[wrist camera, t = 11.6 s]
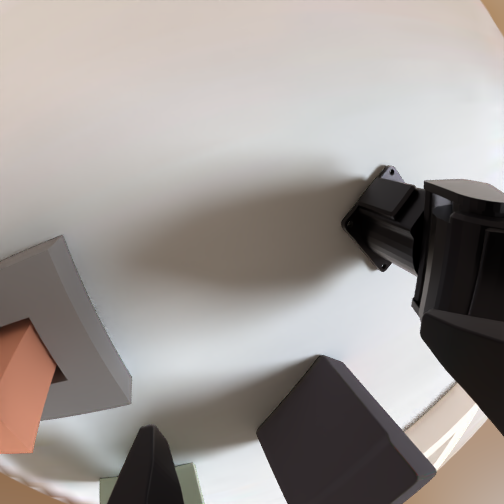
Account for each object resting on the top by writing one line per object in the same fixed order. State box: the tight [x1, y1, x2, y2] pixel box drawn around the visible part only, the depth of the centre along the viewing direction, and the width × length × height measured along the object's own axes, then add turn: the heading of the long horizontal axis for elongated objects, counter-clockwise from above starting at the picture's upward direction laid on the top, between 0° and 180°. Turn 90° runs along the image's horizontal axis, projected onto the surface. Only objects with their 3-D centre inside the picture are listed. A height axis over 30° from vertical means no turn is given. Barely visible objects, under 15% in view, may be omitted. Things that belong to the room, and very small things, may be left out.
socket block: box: [0, 235, 132, 421], centre depth 16 cm, size 12×12×3 cm
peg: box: [0, 318, 57, 454], centre depth 13 cm, size 4×4×10 cm
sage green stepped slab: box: [100, 463, 205, 504], centre depth 19 cm, size 12×10×10 cm
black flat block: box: [256, 355, 437, 504], centre depth 20 cm, size 11×4×15 cm, turn 146°
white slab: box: [404, 383, 479, 471], centre depth 42 cm, size 30×26×6 cm
